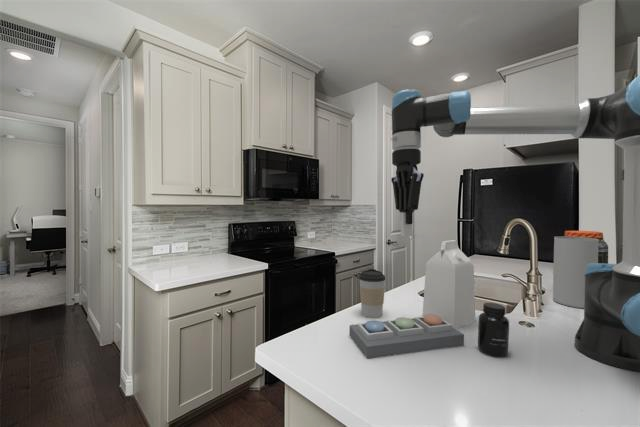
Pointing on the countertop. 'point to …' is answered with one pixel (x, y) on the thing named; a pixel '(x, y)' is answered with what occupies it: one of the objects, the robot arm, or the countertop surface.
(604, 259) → the supplement tub
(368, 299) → the coffee cup
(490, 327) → the supplement bottle
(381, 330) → the button slate
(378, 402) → the countertop surface
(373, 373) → the countertop surface
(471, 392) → the countertop surface
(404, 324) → the button sage
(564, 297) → the cylinder vase
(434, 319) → the button terracotta
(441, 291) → the milk
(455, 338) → the panel
